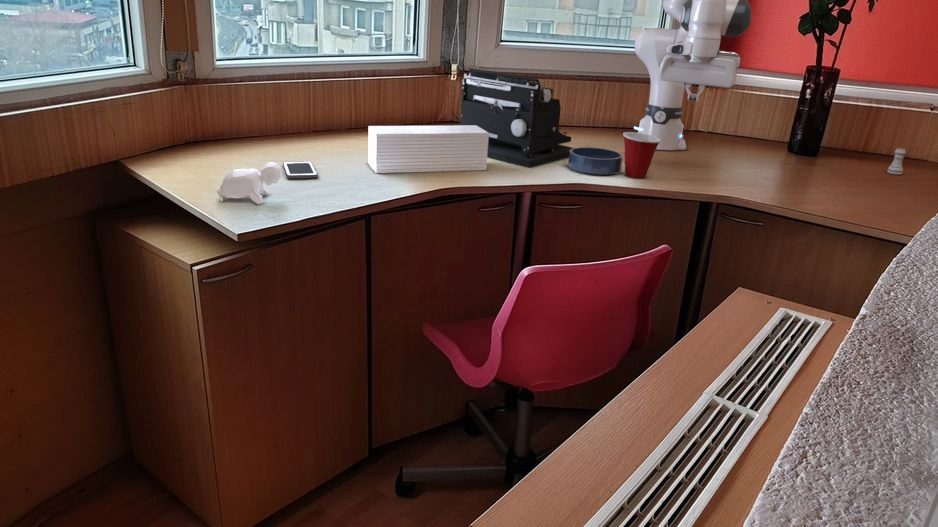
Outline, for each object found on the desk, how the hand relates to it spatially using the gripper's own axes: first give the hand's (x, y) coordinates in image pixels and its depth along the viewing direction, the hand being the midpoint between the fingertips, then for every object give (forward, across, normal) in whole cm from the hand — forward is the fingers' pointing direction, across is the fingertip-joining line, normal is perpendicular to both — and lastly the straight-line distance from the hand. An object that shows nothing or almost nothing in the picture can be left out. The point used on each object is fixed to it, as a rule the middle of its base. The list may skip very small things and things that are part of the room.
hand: (692, 100), depth 199 cm
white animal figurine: (+22, +84, +84) cm, 121 cm away
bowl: (+23, +24, +4) cm, 34 cm away
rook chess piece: (+24, -59, -54) cm, 84 cm away
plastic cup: (+23, +12, +4) cm, 26 cm away
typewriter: (+23, +52, -3) cm, 57 cm away
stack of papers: (+23, +66, +32) cm, 76 cm away
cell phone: (+22, +90, +58) cm, 110 cm away
